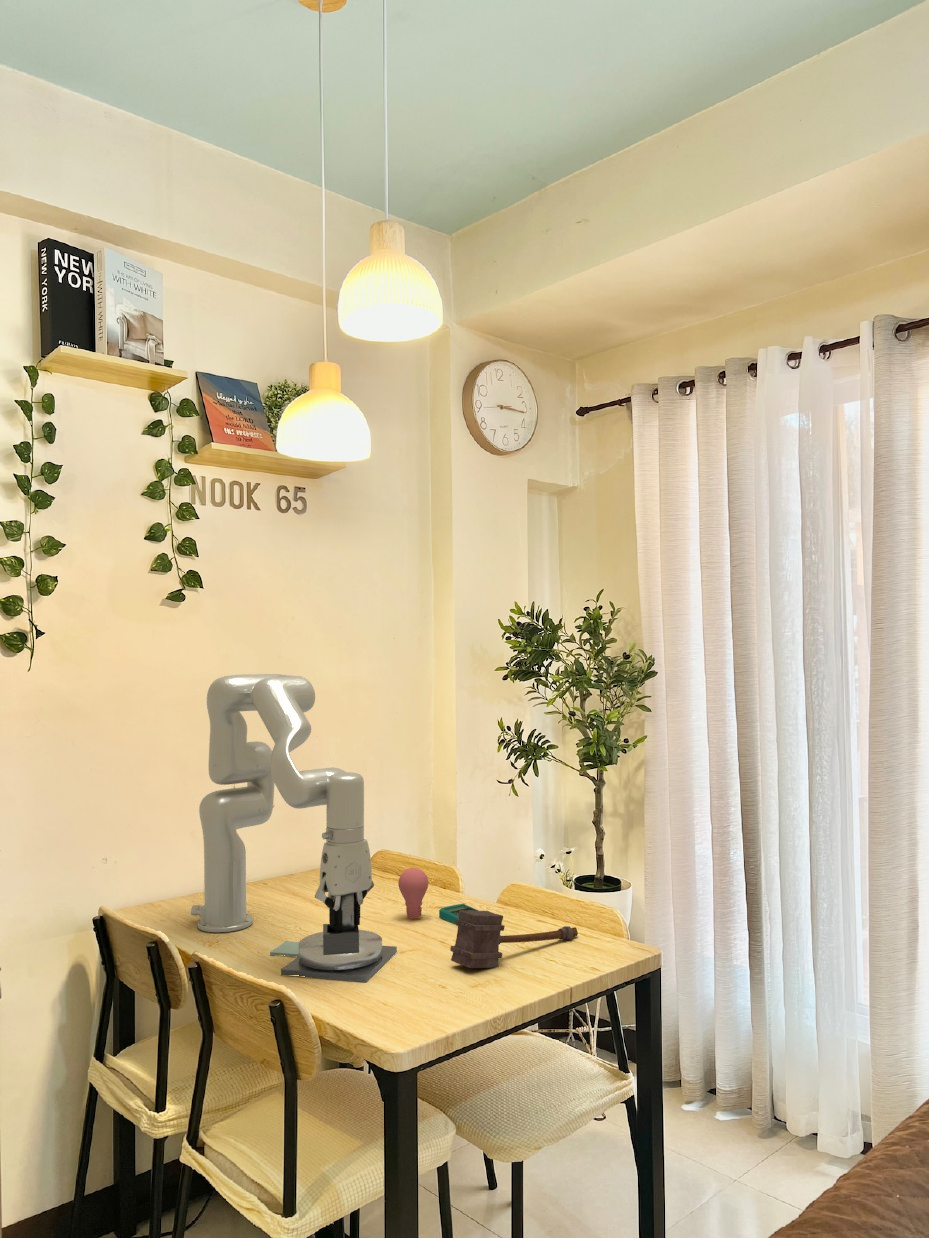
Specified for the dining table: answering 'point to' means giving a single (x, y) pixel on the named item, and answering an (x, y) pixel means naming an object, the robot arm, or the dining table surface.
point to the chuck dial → (340, 949)
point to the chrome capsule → (347, 912)
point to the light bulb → (413, 890)
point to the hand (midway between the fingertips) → (344, 925)
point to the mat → (287, 949)
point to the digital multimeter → (453, 912)
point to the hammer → (491, 938)
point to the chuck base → (346, 975)
